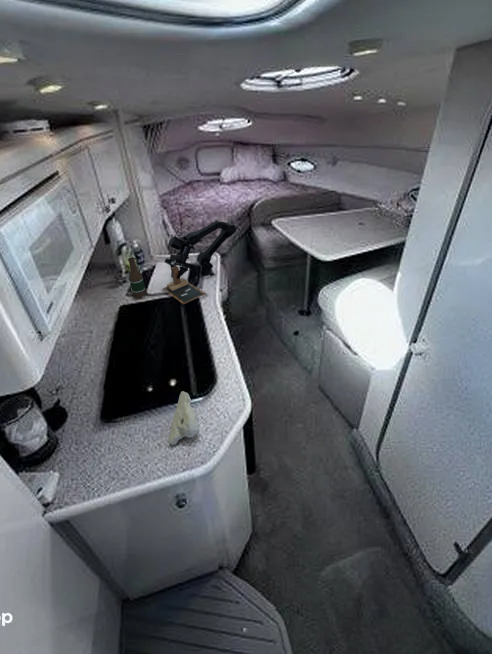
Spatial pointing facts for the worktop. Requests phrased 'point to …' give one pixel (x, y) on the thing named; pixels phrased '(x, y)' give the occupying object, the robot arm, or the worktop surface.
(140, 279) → the beer bottle
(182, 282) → the eraser
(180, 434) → the cream lumpy piece
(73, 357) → the worktop surface
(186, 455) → the worktop surface
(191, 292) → the chalkboard
